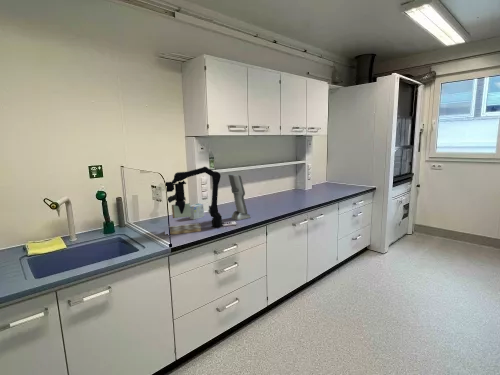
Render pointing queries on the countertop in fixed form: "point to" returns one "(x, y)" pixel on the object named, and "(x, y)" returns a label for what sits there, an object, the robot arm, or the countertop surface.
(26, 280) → the countertop surface
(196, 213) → the light bulb box
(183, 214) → the door panel
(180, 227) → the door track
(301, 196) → the countertop surface
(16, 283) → the countertop surface
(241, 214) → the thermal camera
